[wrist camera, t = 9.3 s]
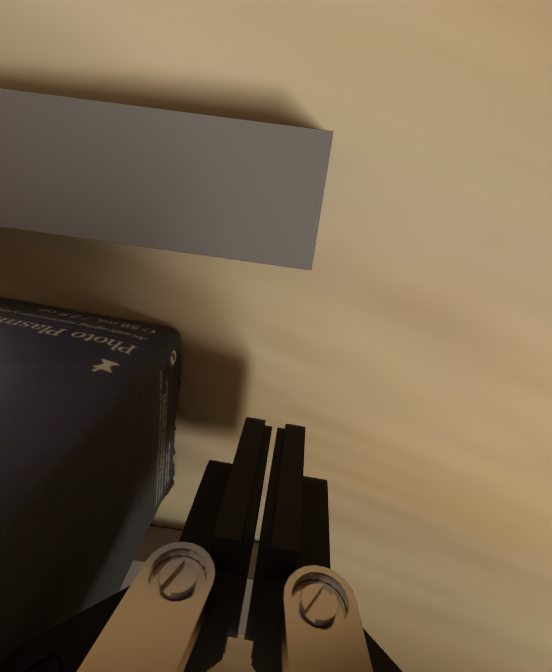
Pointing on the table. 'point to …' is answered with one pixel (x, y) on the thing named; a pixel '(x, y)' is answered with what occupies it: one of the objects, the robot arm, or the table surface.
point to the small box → (78, 457)
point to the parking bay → (162, 192)
